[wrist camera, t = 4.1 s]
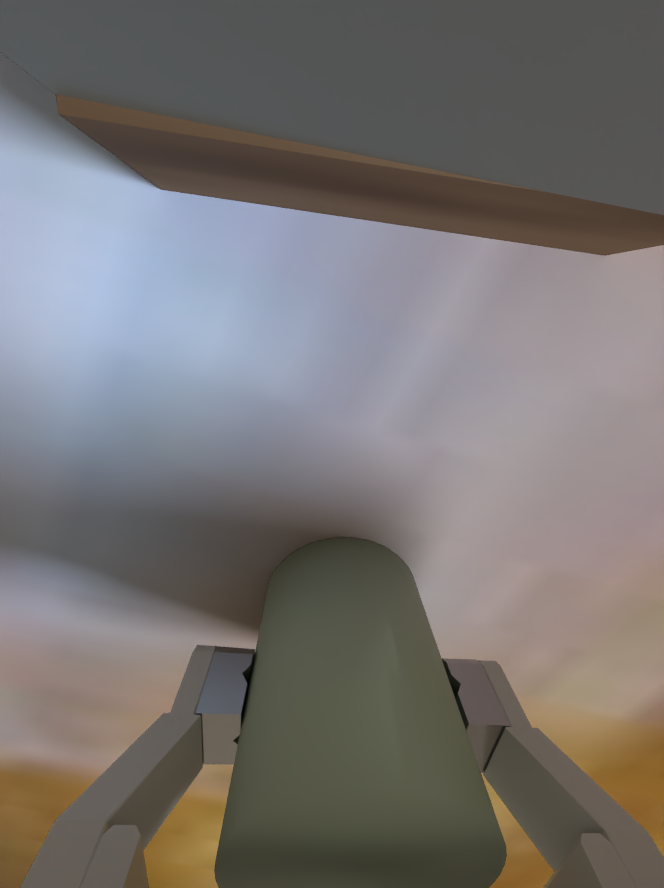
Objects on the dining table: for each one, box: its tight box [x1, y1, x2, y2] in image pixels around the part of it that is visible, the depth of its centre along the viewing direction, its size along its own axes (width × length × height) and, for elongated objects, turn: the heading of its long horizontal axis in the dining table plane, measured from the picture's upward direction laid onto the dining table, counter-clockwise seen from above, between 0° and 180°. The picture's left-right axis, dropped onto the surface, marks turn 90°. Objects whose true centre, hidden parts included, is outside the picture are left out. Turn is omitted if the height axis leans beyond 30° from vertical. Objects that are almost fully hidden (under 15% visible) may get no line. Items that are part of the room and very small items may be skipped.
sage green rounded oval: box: [214, 538, 507, 888], centre depth 9 cm, size 5×5×6 cm
